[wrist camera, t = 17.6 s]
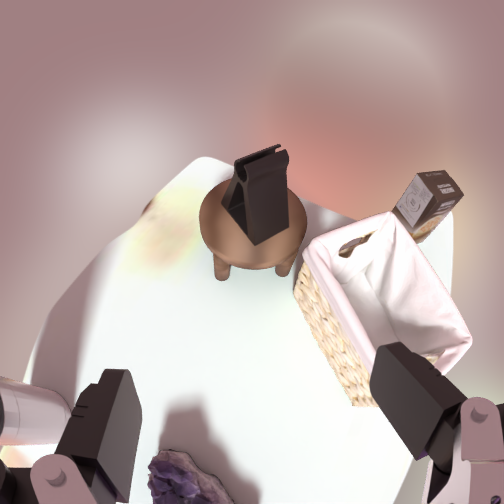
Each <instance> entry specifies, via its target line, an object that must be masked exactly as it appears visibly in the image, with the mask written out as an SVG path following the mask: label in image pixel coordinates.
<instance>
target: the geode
mask: <svg viewBox="0 0 504 504" xmlns="http://www.w3.org/2000/svg"><path fill="white" fill-rule="evenodd" d="M148 469H149V470H150V471H151V474H148V476H149V482H148V484H147V485H148V487H149V489H151V496H152V497H153V504H235V503H234V501H233V500H232V499H230V497H229V495H228V493H227V492H226V491H225V489H224V487H223V485H222V483H221V482H220V480H219V479H218V478H217V477H216V476H215V475H210V474H205V473H203V472H202V471H201V470H200V469H199V468H198V467H197V466H196V465H195V463H194V461H193V460H192V458H191V456H190V455H189V454H188V453H184V452H177V451H174V450H171V449H169V450H163V451H160V453H159V455H157V456H155V457H153V458H152V461H151V463H150V465H149V466H148Z"/></svg>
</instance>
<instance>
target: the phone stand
mask: <svg viewBox="0 0 504 504" xmlns="http://www.w3.org/2000/svg"><path fill="white" fill-rule="evenodd" d="M279 147H281V145H280V144H277V145H274V146H272V147H269V148H266V149H263V150H261V151H258V152H256V153H253V154H250V155H248V156H245V157H243V158H240V159H238V160H236V161H235V163H234V175H233V177H232V180H231V182H230V184H229V186H228V188H227V190H226V192H225V194H224V196H223V199H222V201H221V204H222V206H223V207H224V208H225V209H226V211H227V212H228V213H229V214H230V216H231V217H232V218H233V220H234V221H235V222H236V223H237V224H238V226H239V227H240V228H241V230H242V231H243V232H244V233H245V235H246V236H247V237H248V239H249V240H250V241H251V242H252V244H253V245H254V246H256V245H258V244H260V243H262V242H264V241H265V240H267V239H269V238H271V237H273V236H274V235H276V234H278V233H280V232H282V231H284V230H285V229H287V228H289V210H288V192H287V176H286V170H287V166H288V164H289V156H288V153H287V151H286V149H284V150H282V151H279V152H276V153H275V149H276V148H279Z"/></svg>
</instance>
